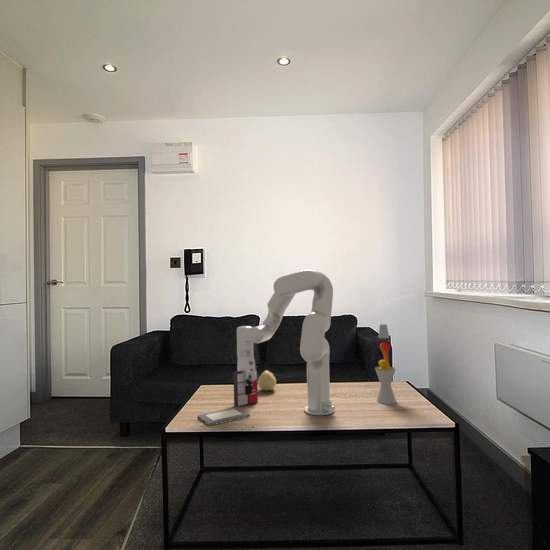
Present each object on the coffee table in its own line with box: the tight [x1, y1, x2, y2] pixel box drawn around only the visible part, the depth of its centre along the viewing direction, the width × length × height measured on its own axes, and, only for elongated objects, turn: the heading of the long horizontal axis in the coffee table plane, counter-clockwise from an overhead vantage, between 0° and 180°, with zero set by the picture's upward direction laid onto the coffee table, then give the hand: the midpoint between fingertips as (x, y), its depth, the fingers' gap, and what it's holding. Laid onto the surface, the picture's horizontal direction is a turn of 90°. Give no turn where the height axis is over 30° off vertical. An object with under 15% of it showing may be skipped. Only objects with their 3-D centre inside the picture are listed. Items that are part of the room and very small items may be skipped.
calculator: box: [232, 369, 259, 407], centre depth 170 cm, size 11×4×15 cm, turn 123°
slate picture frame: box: [197, 406, 251, 426], centre depth 152 cm, size 12×18×1 cm, turn 123°
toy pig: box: [257, 369, 277, 391], centre depth 192 cm, size 10×12×11 cm
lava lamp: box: [374, 323, 397, 405], centre depth 169 cm, size 9×9×35 cm
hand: (246, 392), depth 170 cm, fingers closed on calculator, 3 cm apart
